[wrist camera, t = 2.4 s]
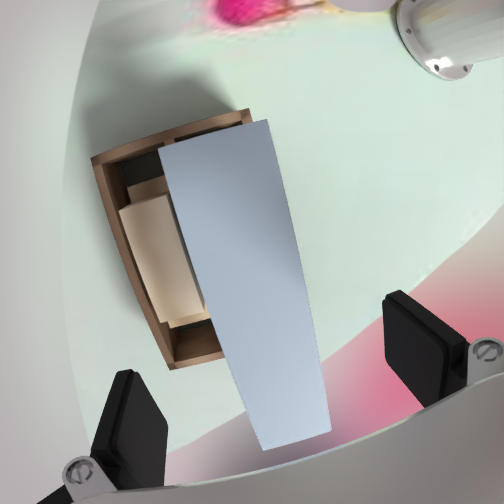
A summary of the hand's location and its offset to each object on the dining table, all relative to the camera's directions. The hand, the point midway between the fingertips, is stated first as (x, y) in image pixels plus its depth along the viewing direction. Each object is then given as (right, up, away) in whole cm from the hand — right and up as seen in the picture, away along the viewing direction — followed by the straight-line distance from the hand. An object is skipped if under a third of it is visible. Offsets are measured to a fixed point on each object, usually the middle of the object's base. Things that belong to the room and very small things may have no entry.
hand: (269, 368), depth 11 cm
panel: (-2, +7, +21) cm, 22 cm away
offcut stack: (-8, +5, +21) cm, 23 cm away
